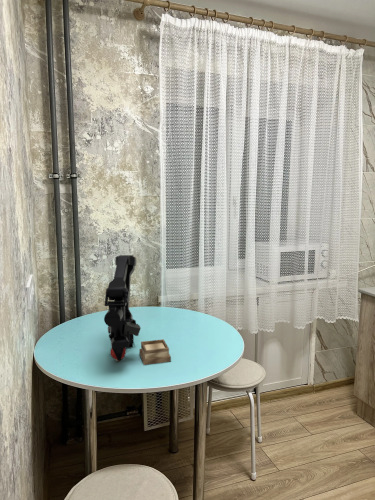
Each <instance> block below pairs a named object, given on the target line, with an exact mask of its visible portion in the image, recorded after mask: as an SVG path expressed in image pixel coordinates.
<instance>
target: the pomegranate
mask: <svg viewBox="0 0 375 500" xmlns="http://www.w3.org/2000/svg"><path fill="white" fill-rule="evenodd" d="M126 353H127V348H124V349H123V353H122V357H121V360H123V359H124V358H125V356H126ZM109 354H110V356H111V357H112V358H113V359H114V360H116V361H117V362H119V361H121V360H118V359H117V357H116V355H115V353H114V351H113V349H112V347H111V348H110V353H109Z"/></svg>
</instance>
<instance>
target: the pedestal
mask: <svg viewBox="0 0 375 500" xmlns="http://www.w3.org/2000/svg"><path fill="white" fill-rule="evenodd" d="M138 352H139V356H140V358H141V361H142V364H143V366H144V365H154V364H155V365H156V364H163V363H169V362H170V363H171V362H172V356H171V355H170V348H169V346H168V344H167V343H166V341H165V339H164V338H163V339H154V340H145V341H140V348H139V351H138Z"/></svg>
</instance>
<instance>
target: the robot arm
mask: <svg viewBox="0 0 375 500" xmlns="http://www.w3.org/2000/svg"><path fill="white" fill-rule="evenodd" d="M114 260H115V261H114V262H115V263H114V265H115V271H114V277H113V279H112V280H111V281H109V283H108V286H107V288H106V289H105V299H104V307H108V310H107V312H106V314H105V315H104V317H103V319H104V320H103V321H104V323H105V325H106V326H107V333H108V337H109V340H110V345H111V348H112V349H113V351H114V353H115V355H116V357H117V359H118V360H120V361H121V360H122V359H121V357H122V353H123V349H124V348H126V349H129V348H133V347H134V338H135V337H134V336H136V337H138V336H139V334H140V331H141V325H139V324H138V323H137V321H136V320H135V319H134V318H133V313H132V312H131V310H130V300H131V299H130V297H131V295H130V294H131V281H132V278H131V277H132V275H133V274H134V272H135V270H136V266H137V257H136V256H134V255H132V254H130V255H129V254H127V255H126V254H121V255H117V256H116V257H115V259H114Z"/></svg>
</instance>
